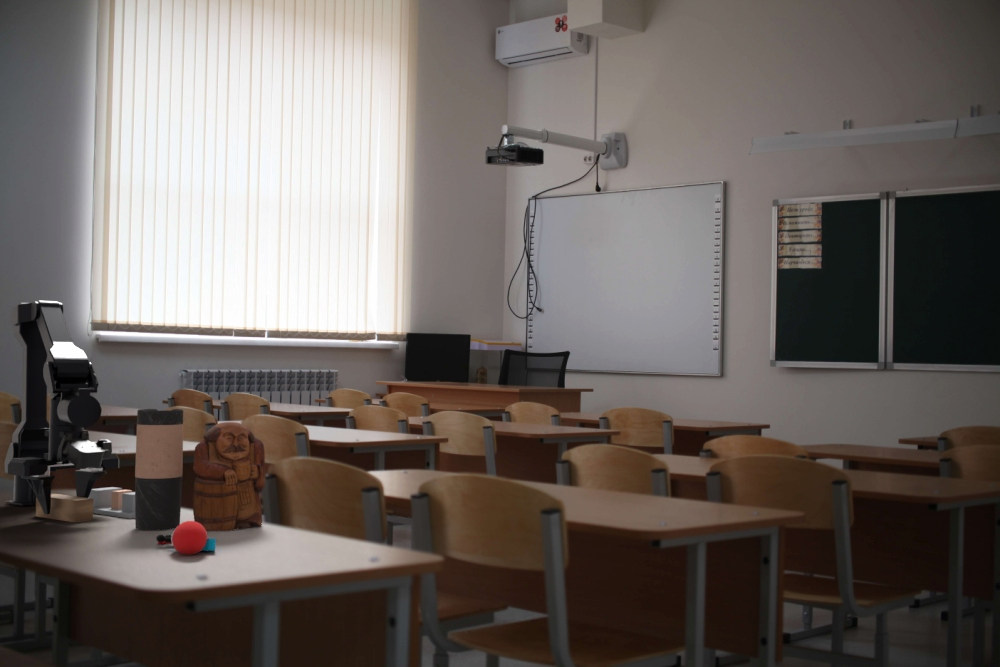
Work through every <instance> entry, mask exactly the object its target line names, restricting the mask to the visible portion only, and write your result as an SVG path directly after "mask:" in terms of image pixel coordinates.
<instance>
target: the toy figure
mask: <svg viewBox="0 0 1000 667" xmlns="http://www.w3.org/2000/svg"><path fill="white" fill-rule="evenodd" d="M155 539H156V542H157V544H158V545H160V544H162V545H170V544H172V546H173V548H174V550H176V551H177V553H179V554H182V555H187V556H188V555H189V556H193V555H196V554H197V553H199V552H202V551H204V552H205V551H206V552H207V551H209V552H215V551H216V542H217V539H216V538H208V531H206V530H205V528H204V527H203V526H202V525H201V524H200V523H198V522H195V521H193V520H187V521H183V522H182V523H181V522H180V525H179V526H177V527H176V528H175V529H173V532H172V533H171V534H166V535H164V534H159V535H157V536H156V538H155Z"/></svg>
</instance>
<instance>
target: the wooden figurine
mask: <svg viewBox="0 0 1000 667" xmlns="http://www.w3.org/2000/svg"><path fill="white" fill-rule="evenodd" d="M202 438H203V439H202V440H201V441H200V442H199V443H198V444H197V445H195V448H194V453H193V454H194V455H193V466H192V470H193V471H194V474H195V475H196V476H197V477H195V479H194V483H193V490H192V492H193V493H192V513H193V519H194V521H195V522H198V523H200V524H201V525H202V526H203V527H204V528H205V530H206V532H231V530H232V531H235V529H236V530H243V529H248V528H249V529H251V527H260V526H261V525H263V517H262V516H263V514H262V513H263V512H262V510H263V509H262V501H261V496H260V493H261V492H263V490H264V489H265V487H266V469H265V467H266V460H265V458H266V457H265V456H266V454H265V446H264V442H263V441H262V440H261V439H260V438H257V437H255V434H253V432H252V431H251V429H250V428H249V427H248V426H246V425H244V424H242V423H240V422H235V421H226V422H225V421H224V422H220V423H216V424H214V425H213V426H212V427H210V428H209V429H208V431H206V432H205V433H204V435H203V437H202ZM261 523H262V524H261Z"/></svg>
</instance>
